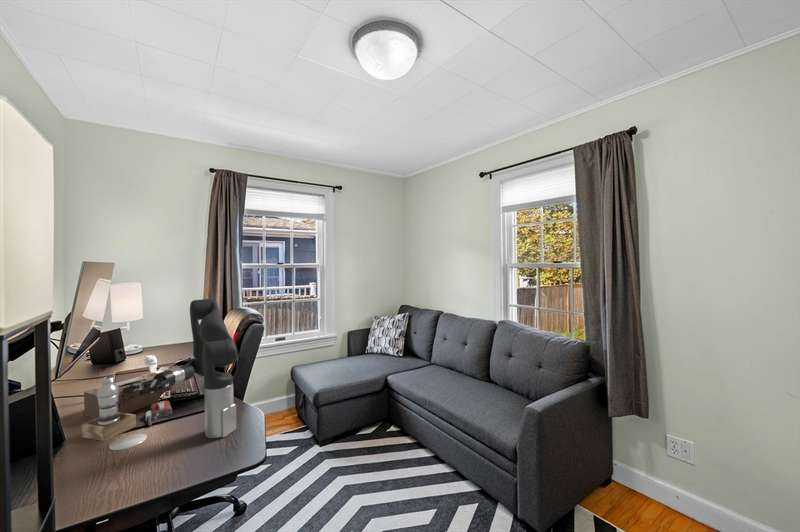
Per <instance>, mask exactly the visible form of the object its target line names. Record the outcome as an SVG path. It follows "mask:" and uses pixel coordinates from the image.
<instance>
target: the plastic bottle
mask: <svg viewBox="0 0 800 532" xmlns="http://www.w3.org/2000/svg"><path fill="white" fill-rule="evenodd" d="M115 378H116V376H114V375H110V376H105V377H102V378H101V386H100V387H101V388H100V389H99V390H98V392H97V398H98V403H99V421H98V426H103V427H106V426H109V425H111V424H113V423H115V422H118V421H120V416H119V411H118V399H119V392H120V389H119V387H118V386H117V385H116V384H115V383H116V379H115Z"/></svg>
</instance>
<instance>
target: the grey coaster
mask: <svg viewBox="0 0 800 532" xmlns="http://www.w3.org/2000/svg"><path fill="white" fill-rule="evenodd" d="M147 437H148V435H147V434H144V433H133V434H129V435H125V436H122V437H120V438H118V439H116V440H114V441H113V442H111V443H110V444H109V449H110V451H124V450H128V449H132V448H133V447H136V446H138V445H141V444H142V443H144V442H145V441H146V440H147Z"/></svg>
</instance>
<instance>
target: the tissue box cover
mask: <svg viewBox="0 0 800 532" xmlns="http://www.w3.org/2000/svg"><path fill="white" fill-rule="evenodd" d="M149 373H150V372H149ZM145 374H146V373H145ZM156 374H158V373H150V374H146V375H144V374H143V375H140V376H136V377H132V378H129V379H124V380H121V381H118V382H114V383H115V384H116V385H117V386H118V387H119V389H120V392H119V399H118V411H119V412H120V413H128V414H130V413H132V412H134V411H137V410H140V409H143V408H145V407H148V406H149V407H150V406H151V405H152V404H154V403H157V402H159V399H160V396H161V395H162V394H163V393H164V392H166V391H169V390H171V391H172V387H170V388H167V389H165V390H162V391H159V392H157V393H155V391H154V392H152V393H147V394H145V395H142V396H139V390H135V391H132V392H129V393H126V394H123V388H126V387H129V386H130V384H131V383H134V382H137V381H140V380H143V379H146V380H149V379H153V378H154V377H155V375H156ZM100 388H101V386H98V387H95V388H92V389H91V388H90V389H88V390H84V391H83V398H84V399H83V404H84V406H83V407H84V410H83V411H84V412H83V413H84V416H86V415H87V416H86V417H88V416H89V417H88V418H91V419H92V420H93V419H96V418H98V417H99V403H98V398H97V392H98V390H99V389H100ZM142 388H144V386H142Z"/></svg>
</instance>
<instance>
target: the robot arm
mask: <svg viewBox="0 0 800 532" xmlns="http://www.w3.org/2000/svg"><path fill="white" fill-rule="evenodd" d="M189 317H190V318H189V319H190V327H191V333H192V342H193V343H192V345H193V347H192V348H193V350H192V354H193V357H194V358H192V359H191V360H190V361H188V362H187V363H185V364H184V365H181V366H177V367H173V368H169V369H166V370H163V371H161V373H158V374H156V375H155V377H154V378H153V379H149V380H146V379H143V380H140V381H137V382H134V383H131V384H130V386H129V387H126V388H123V394H126V393H129V392H132V391H135V390H139V396H142V395H145V394H147V393H152V392H154V391H155V393H157V392H159V391H162V390H165V389H167V388H170V387H171V388H173V387H174V386H175V387H176V386H177V385H179V384H181V383H184V382H186V381H188V380H191V379H192V378H193V377H195V374H196V375H198V376H201V377H204V378H203V382H204V383H203V385H204V386H203V388H204V432H205V433H204V435H205V437H206V438H208V439H219V438H225V437H227V436H228V435H229V434H231V433H233V432H235V431H236V430H237V404H236V403H234V402H235V401H234V376H233V375H232V374H231V373H228V372H220V371H217V370H215V368H218V367H225V366H229V365H232V364H234V363H235V362H236V361H237V358H238V353H239V352H238V348H237V347H238V346H237V345H236V341H235V340H234V339H233V338H232V336H231V335H230V333H229V332H228V329H227V325H226V324H225V321H224V319H223V318H222V315H221V313H220V309H219V305H218V302H217V300H215V299H213V298H205V299H195V300H192V301H190V305H189ZM199 322H200V323H199ZM142 386H144V388H142Z"/></svg>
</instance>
